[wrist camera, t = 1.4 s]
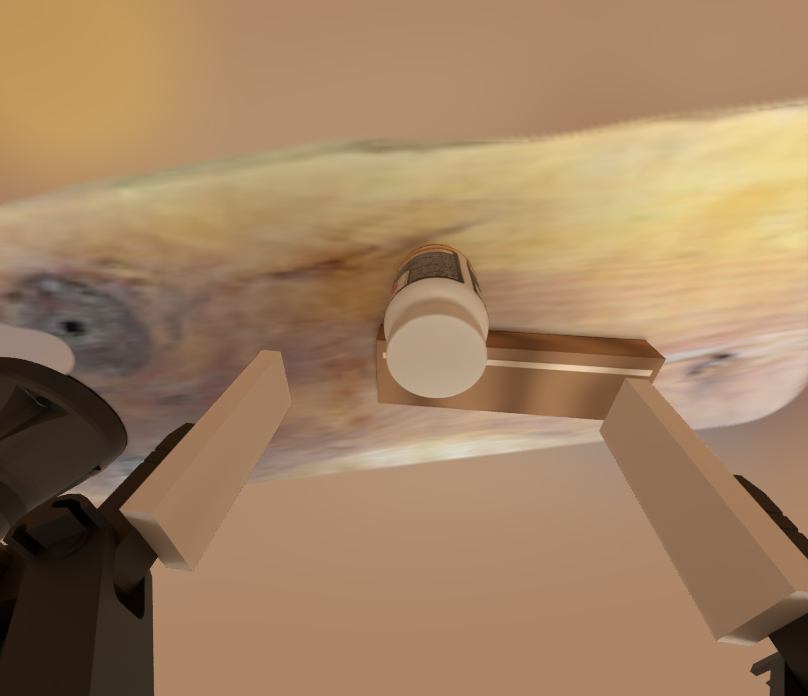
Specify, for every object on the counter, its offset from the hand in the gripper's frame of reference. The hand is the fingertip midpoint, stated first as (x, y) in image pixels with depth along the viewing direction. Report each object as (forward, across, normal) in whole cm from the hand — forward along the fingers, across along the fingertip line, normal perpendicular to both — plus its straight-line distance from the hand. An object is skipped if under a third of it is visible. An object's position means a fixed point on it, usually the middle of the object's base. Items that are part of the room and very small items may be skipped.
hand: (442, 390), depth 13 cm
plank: (+12, +6, -7) cm, 15 cm away
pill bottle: (+12, 0, 0) cm, 12 cm away
